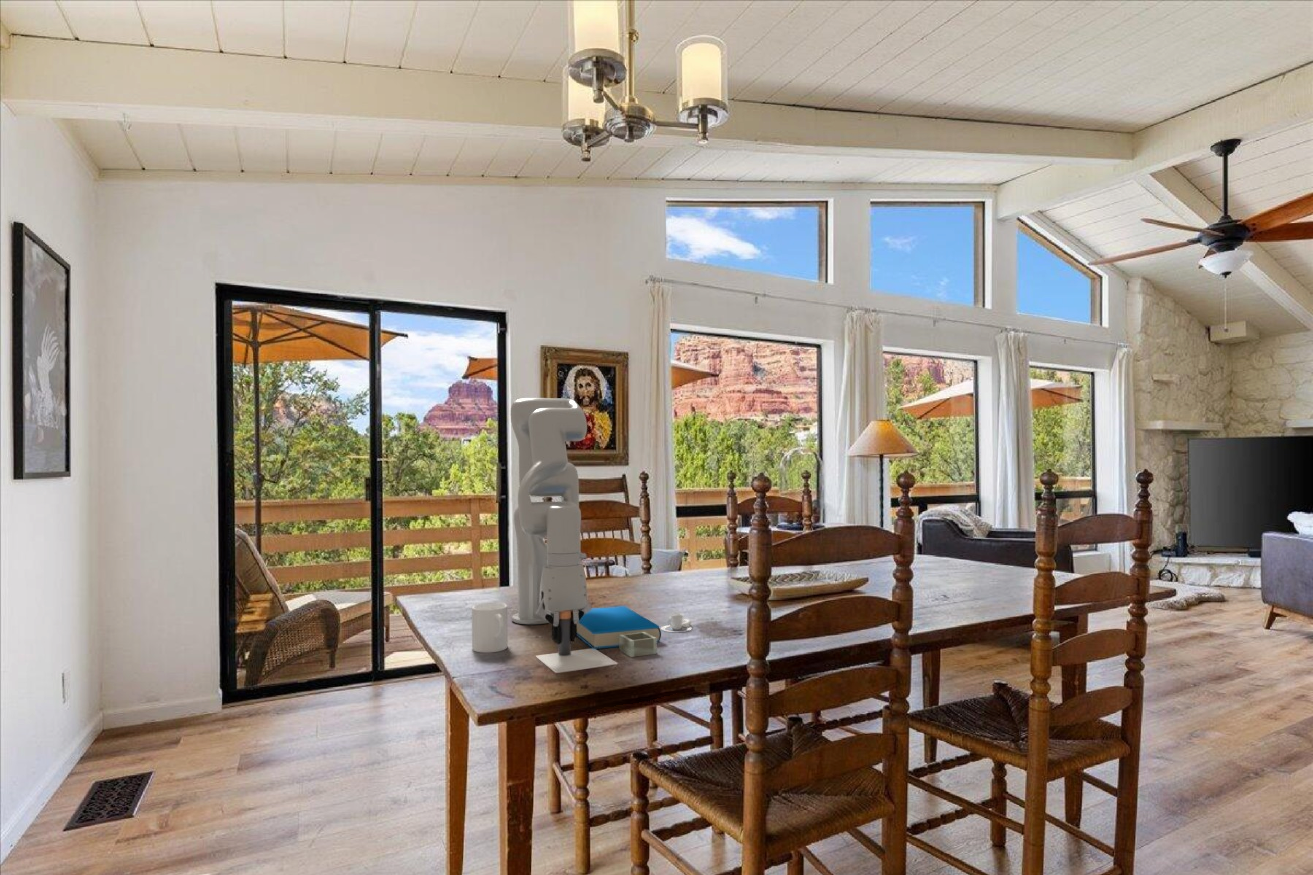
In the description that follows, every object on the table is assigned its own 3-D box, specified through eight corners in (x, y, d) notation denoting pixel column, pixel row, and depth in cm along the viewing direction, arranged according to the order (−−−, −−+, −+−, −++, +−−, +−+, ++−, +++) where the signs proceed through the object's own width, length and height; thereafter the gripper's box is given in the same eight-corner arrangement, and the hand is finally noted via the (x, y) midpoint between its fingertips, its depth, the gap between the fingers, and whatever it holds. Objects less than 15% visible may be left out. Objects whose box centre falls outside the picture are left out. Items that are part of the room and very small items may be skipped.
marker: (555, 652, 174) (555, 608, 174) (568, 650, 176) (568, 606, 176) (560, 655, 171) (560, 610, 172) (573, 654, 173) (573, 609, 173)
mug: (485, 658, 171) (485, 614, 171) (467, 646, 181) (467, 604, 182) (519, 653, 176) (519, 609, 176) (500, 641, 186) (499, 600, 186)
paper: (535, 656, 173) (535, 655, 173) (593, 648, 179) (593, 648, 179) (555, 673, 160) (555, 672, 160) (617, 664, 166) (617, 663, 166)
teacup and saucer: (685, 624, 204) (685, 609, 204) (700, 631, 196) (700, 615, 196) (655, 628, 200) (655, 612, 200) (669, 635, 193) (669, 619, 193)
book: (593, 632, 178) (564, 609, 201) (593, 650, 178) (564, 625, 201) (662, 625, 184) (625, 604, 208) (662, 643, 184) (625, 620, 208)
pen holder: (619, 650, 178) (619, 634, 178) (644, 646, 180) (644, 631, 180) (630, 657, 172) (630, 641, 172) (656, 653, 175) (656, 637, 175)
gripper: (591, 555, 181) (591, 634, 181) (523, 560, 173) (524, 642, 173) (603, 559, 174) (604, 641, 174) (534, 564, 167) (534, 650, 167)
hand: (564, 641), depth 174 cm, fingers closed on marker, 2 cm apart
